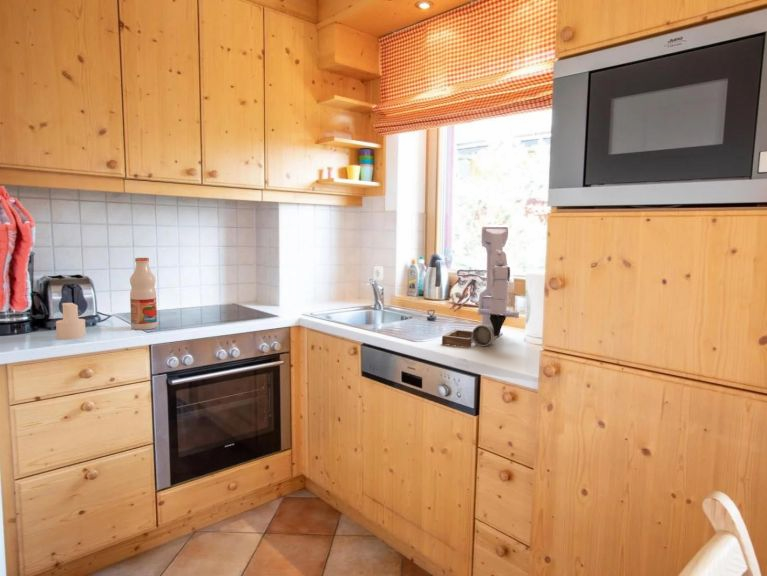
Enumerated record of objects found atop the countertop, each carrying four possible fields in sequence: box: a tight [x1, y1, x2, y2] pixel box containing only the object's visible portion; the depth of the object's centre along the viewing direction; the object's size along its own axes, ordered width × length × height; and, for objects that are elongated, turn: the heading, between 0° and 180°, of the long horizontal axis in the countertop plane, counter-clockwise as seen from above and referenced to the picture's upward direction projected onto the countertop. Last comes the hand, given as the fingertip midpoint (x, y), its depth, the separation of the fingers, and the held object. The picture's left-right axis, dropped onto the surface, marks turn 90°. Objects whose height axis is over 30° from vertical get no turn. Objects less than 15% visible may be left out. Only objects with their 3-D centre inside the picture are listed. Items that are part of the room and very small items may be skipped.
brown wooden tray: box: [441, 329, 473, 348], centre depth 190 cm, size 15×10×3 cm
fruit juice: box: [129, 257, 158, 331], centre depth 201 cm, size 9×9×28 cm
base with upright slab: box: [55, 302, 87, 341], centre depth 182 cm, size 9×9×12 cm
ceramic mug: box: [470, 324, 497, 347], centre depth 187 cm, size 11×8×8 cm
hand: (497, 335), depth 184 cm, fingers closed
